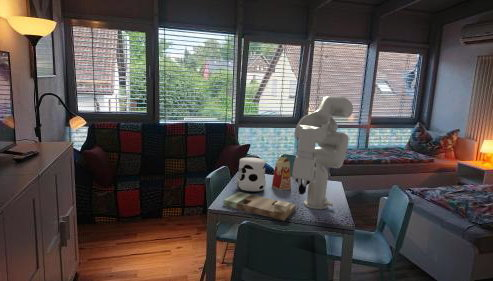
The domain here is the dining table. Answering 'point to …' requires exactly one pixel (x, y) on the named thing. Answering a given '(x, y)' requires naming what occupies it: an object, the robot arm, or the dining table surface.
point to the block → (282, 207)
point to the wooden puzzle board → (257, 205)
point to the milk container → (251, 175)
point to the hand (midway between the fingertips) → (301, 193)
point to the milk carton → (282, 174)
